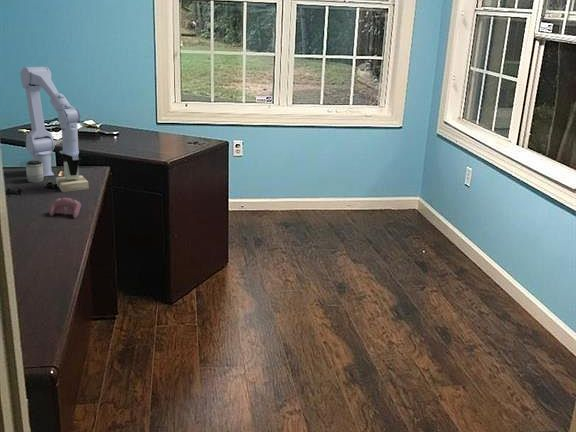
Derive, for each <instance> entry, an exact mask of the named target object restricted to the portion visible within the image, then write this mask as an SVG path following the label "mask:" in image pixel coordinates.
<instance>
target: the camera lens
mask: <svg viewBox="0 0 576 432" xmlns="http://www.w3.org/2000/svg"><path fill="white" fill-rule="evenodd" d="M25 171H26V172H25V173H26V179H27V181H28V182H29V183H35V184H36V183H41V182H43V181H44V177H45V176H44V175H43V163H42V162H40V161H32V160H29V161H27V162H26V163H25Z"/></svg>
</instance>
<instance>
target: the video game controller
mask: <svg viewBox="0 0 576 432" xmlns="http://www.w3.org/2000/svg"><path fill="white" fill-rule="evenodd" d="M66 207H68V209H66ZM81 208H82V204H81V201H78V200H76V199H75V198H70V197H62V198H61V197H60V198H56V199H55V200H54V201H53V202H52V204H51V207H50V209H49V216H51V217H52V216H54V215H55V213H57V211H58V213H59V214H61V215H64V214H65V213H66V212H67V214H68V215H70V216H72V217H73V218H74V219H77V218H78V216H79V214H80V210H81Z"/></svg>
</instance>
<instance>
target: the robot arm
mask: <svg viewBox="0 0 576 432" xmlns="http://www.w3.org/2000/svg"><path fill="white" fill-rule="evenodd" d="M19 73H20V74H19V75H20V81H21V86H22V88H23V89H24V90H25V91H24V92H25V96H26V102H27V107H28V115H29V119H30V126H31V130H30V131H29V132H28V134H26V136H25V139H26V140H25V147H26V150H27V152H28V153H29V154H30V155H31V156H30V157H31V159H30V161H40V162H42V163H43V175H44V176H43V177H53V176H55V174H54V172H53V171H52V160H51V157H52V156H51V154H52V153H53V151H54V149H55V148H56V147H55V145H56V143H55V141H54V138H53V135H52V133H51V132H50V131H48V130H47V129H46V125H45V120H44V119H45V118H44V113H43V106H42V101H41V93H40V90H41V89H42V90H44V92H45V93H46V95H48V96H49V98H50V99H49V102H50V104H51V105H52V107H53V109H54V110H55V112H56V114H57V119H58V123H59V127H60V129H61V137H62V138H61V141H62V142H61V143H62V149H61V150H59V153H60V154H61V157H62V159H63V163H64V162H67V163H68V166H69V171H70V175H71V176H72V175H76V174H77V170H78V166H79V165H80V163H81V161H82V158H81V157H79V153H80V150H79V136H78V135H79V133H78V132H79V131H78V123H79V122H80V119H81V115H80V111H79V109H78V108H77V107H74V106H73V105H71V104H70V102H69V101H68V99H67V98H66V96H65V95H64V93H63V94H62V93H59V91H58V89H57V87H56V86H55V84H54V82H53V80H52V72H51V70H50V69H49V67H48V66H46V65H43V66H23V67H22V68H21V70H20V72H19Z"/></svg>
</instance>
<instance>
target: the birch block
mask: <svg viewBox="0 0 576 432" xmlns="http://www.w3.org/2000/svg"><path fill="white" fill-rule="evenodd" d="M55 181H56V183H55V184H57V185H56V186H57V187H58V188H59V189H60V191H61V192H62V193H66V192H76V191H85V190H86V191H87V190H90V188H89V187H90V186H89V181H88V180H87V179H86V178H85V177H84V176H83V175H82V174H81V175H80V174H79V179H69V180H67V179H66V178H65V177H64V176H57V177H55Z"/></svg>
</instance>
